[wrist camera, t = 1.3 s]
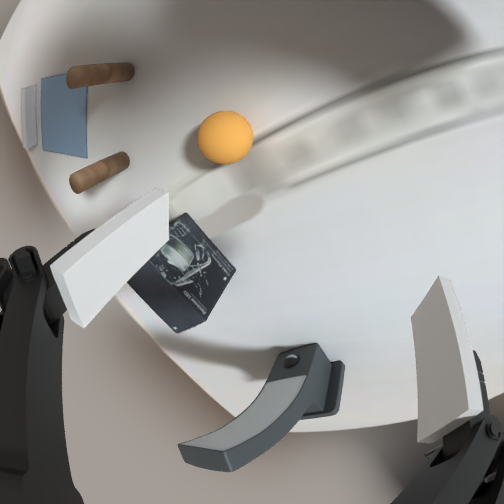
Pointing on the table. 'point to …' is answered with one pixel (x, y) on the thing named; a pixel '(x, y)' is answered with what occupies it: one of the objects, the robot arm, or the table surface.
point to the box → (183, 277)
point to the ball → (225, 137)
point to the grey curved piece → (272, 410)
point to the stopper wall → (28, 116)
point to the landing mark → (63, 117)
